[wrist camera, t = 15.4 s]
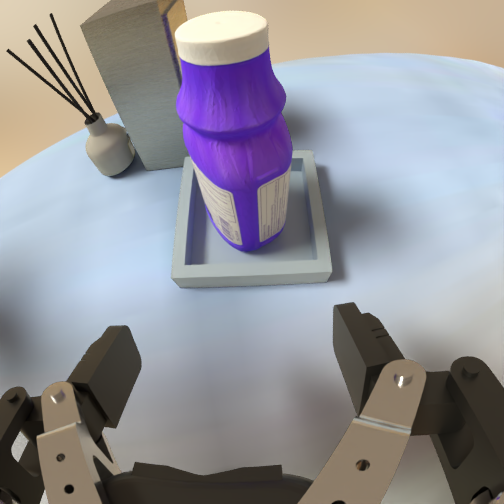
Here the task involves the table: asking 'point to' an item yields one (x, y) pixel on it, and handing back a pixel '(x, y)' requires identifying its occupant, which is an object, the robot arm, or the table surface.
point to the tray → (266, 257)
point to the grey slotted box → (142, 73)
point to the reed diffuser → (90, 119)
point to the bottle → (235, 125)
